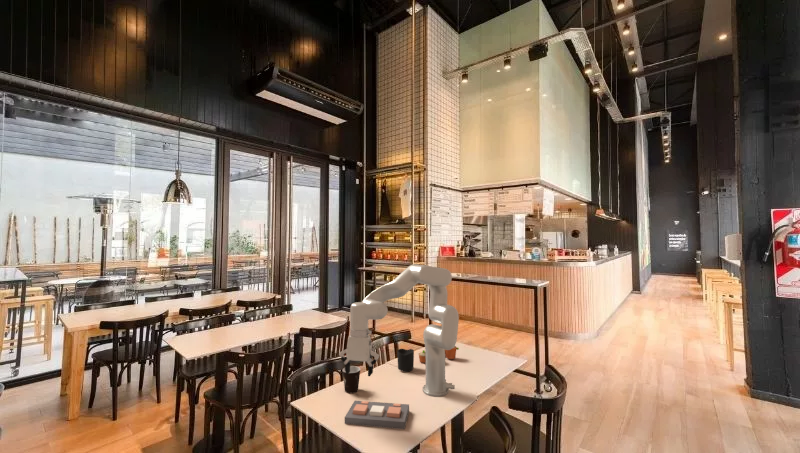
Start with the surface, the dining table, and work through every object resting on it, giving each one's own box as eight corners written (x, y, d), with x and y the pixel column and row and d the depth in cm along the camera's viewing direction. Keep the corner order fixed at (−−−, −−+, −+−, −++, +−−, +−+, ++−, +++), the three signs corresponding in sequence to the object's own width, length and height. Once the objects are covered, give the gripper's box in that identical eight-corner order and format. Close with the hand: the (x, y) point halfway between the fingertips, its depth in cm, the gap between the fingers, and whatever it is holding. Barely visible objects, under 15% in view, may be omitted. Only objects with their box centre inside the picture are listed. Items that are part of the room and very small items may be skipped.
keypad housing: (409, 411, 145) (409, 403, 146) (404, 430, 132) (404, 421, 132) (354, 407, 149) (354, 399, 149) (344, 425, 135) (344, 416, 135)
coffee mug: (343, 386, 170) (343, 366, 170) (360, 386, 171) (360, 365, 171) (341, 397, 158) (341, 375, 159) (359, 396, 159) (359, 375, 159)
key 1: (368, 409, 142) (367, 404, 142) (364, 416, 137) (364, 411, 137) (356, 408, 143) (356, 404, 143) (352, 415, 138) (352, 410, 138)
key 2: (401, 412, 140) (401, 407, 140) (399, 418, 135) (399, 413, 135) (389, 411, 141) (389, 406, 141) (386, 417, 136) (386, 412, 136)
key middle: (384, 411, 141) (384, 406, 141) (381, 417, 136) (381, 412, 136) (372, 410, 142) (372, 405, 142) (369, 416, 137) (369, 411, 137)
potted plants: (441, 350, 223) (441, 336, 223) (461, 356, 212) (461, 341, 212) (414, 361, 205) (414, 345, 205) (434, 368, 194) (434, 351, 194)
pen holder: (404, 373, 186) (404, 354, 186) (394, 368, 193) (393, 350, 194) (417, 369, 192) (417, 351, 192) (406, 364, 199) (406, 347, 199)
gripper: (381, 331, 145) (381, 372, 144) (343, 329, 148) (342, 369, 148) (376, 336, 137) (376, 379, 137) (336, 333, 141) (335, 375, 140)
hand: (358, 374), depth 142 cm, fingers open, 9 cm apart
